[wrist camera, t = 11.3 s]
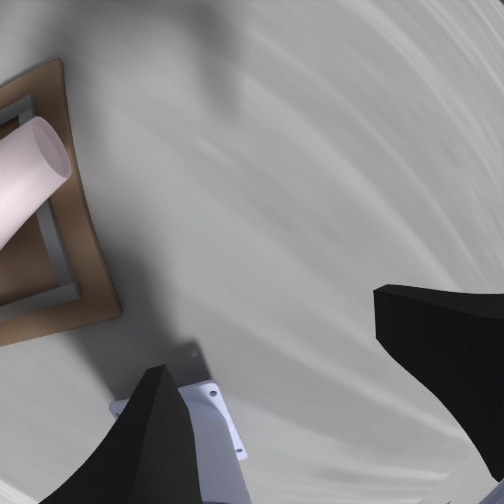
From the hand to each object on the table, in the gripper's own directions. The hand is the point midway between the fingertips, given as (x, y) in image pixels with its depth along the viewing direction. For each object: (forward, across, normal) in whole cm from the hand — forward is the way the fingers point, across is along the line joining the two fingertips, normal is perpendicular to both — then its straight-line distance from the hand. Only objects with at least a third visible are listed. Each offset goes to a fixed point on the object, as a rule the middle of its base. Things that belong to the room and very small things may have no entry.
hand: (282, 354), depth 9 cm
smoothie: (+6, +7, -10) cm, 13 cm away
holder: (+10, +16, -8) cm, 20 cm away
